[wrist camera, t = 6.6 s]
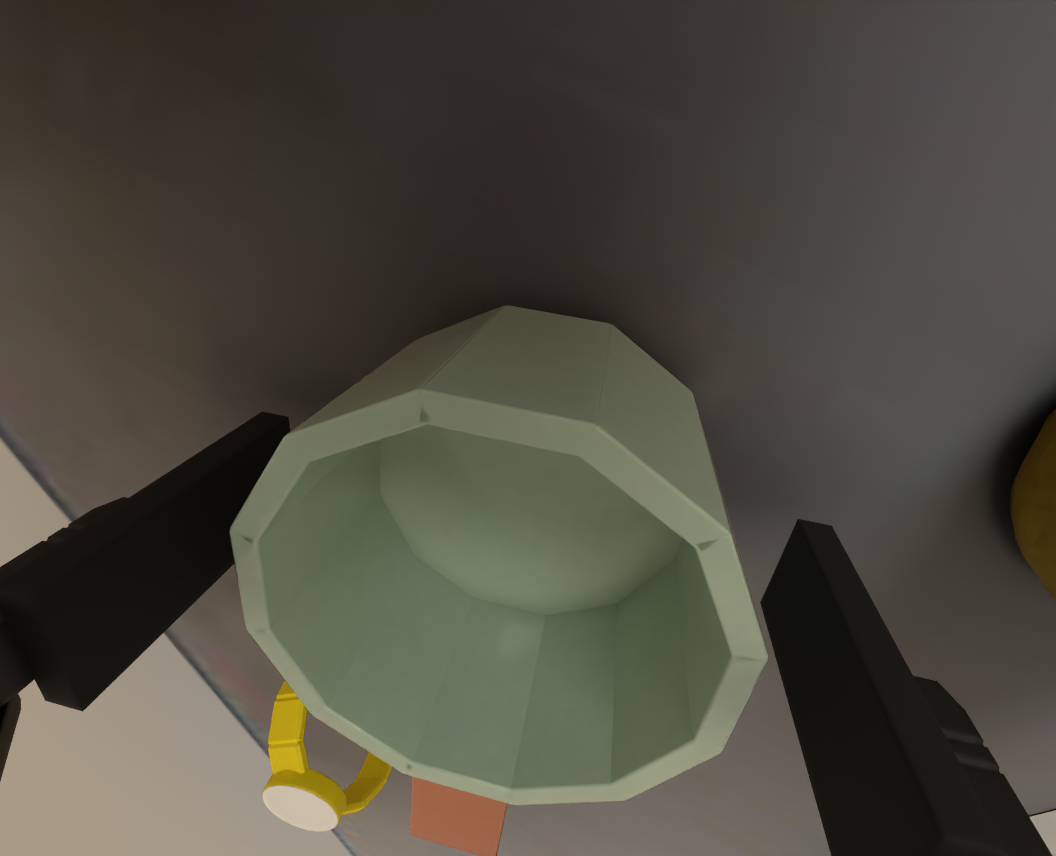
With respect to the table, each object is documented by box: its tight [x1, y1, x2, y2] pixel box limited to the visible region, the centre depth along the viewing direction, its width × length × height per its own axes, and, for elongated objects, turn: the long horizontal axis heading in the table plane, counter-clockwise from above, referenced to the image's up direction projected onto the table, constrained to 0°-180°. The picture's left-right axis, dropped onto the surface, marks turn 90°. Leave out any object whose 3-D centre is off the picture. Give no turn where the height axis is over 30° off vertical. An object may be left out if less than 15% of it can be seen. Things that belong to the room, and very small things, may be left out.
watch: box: [262, 681, 392, 832], centre depth 20 cm, size 6×3×6 cm, turn 22°
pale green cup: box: [230, 305, 768, 856], centre depth 13 cm, size 13×10×6 cm
